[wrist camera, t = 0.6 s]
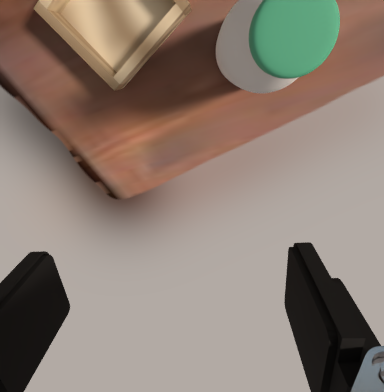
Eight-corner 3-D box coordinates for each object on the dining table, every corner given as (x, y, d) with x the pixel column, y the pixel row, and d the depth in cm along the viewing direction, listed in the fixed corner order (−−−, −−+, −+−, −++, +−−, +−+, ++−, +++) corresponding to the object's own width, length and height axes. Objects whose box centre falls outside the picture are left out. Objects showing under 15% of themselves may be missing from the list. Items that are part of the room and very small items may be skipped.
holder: (117, -83, 28) (105, -103, 25) (191, 9, 31) (189, 3, 28) (51, 14, 32) (33, 8, 29) (123, 88, 35) (114, 90, 32)
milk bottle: (227, 95, 35) (246, 128, 17) (205, 29, 32) (200, -19, 14) (289, 70, 33) (384, 76, 15) (272, -2, 30) (364, -102, 12)
